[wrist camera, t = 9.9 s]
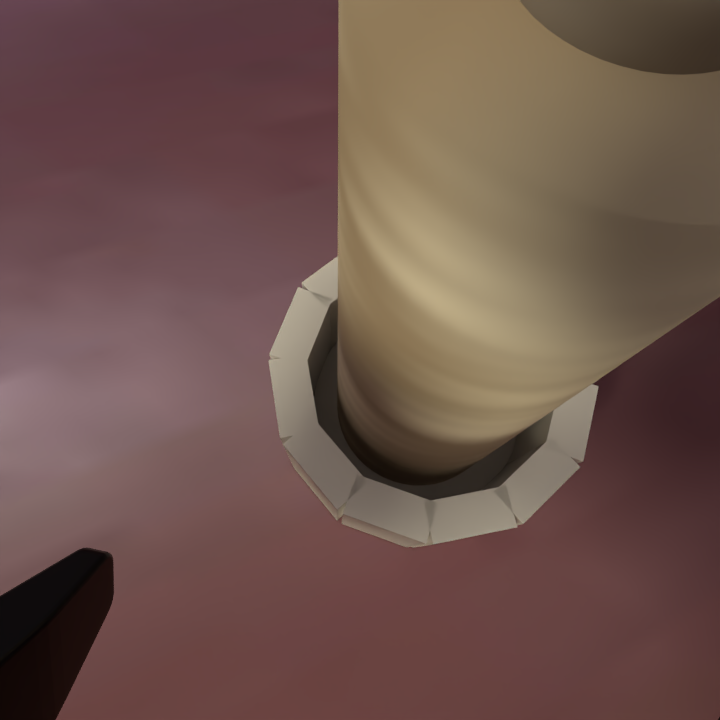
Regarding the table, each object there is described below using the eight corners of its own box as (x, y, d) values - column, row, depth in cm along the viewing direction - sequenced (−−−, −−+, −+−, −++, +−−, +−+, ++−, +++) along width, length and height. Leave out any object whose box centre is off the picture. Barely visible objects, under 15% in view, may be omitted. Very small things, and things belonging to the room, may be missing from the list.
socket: (594, 422, 19) (659, 388, 15) (407, 605, 16) (427, 619, 13) (420, 250, 21) (439, 181, 17) (233, 394, 18) (206, 352, 15)
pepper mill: (526, 413, 18) (1432, -276, 3) (411, 521, 17) (1014, 219, 2) (419, 304, 19) (708, -580, 4) (305, 396, 18) (146, -398, 3)
